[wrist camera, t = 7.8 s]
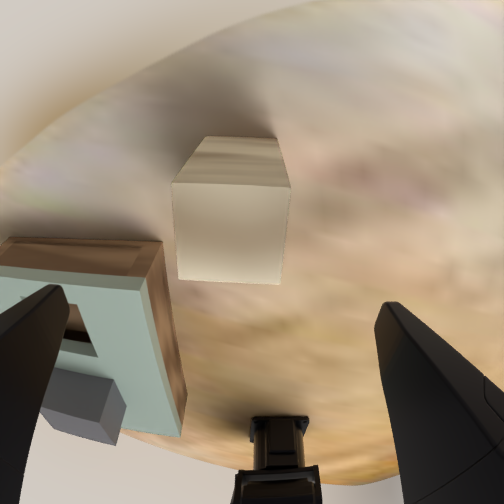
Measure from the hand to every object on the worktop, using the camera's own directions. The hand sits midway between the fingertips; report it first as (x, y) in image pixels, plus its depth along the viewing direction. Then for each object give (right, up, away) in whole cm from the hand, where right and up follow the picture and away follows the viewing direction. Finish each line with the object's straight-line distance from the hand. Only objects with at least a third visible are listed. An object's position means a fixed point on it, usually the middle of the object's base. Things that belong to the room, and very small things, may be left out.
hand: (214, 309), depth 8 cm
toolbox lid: (-12, -7, +14) cm, 20 cm away
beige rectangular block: (0, +6, +10) cm, 12 cm away
